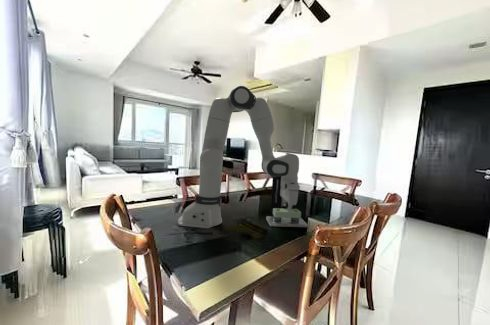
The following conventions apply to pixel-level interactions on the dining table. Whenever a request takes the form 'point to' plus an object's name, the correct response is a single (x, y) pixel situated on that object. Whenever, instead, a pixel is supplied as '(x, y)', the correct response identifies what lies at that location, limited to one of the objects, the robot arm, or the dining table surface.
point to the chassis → (286, 221)
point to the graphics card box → (276, 194)
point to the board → (286, 213)
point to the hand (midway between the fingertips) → (286, 208)
